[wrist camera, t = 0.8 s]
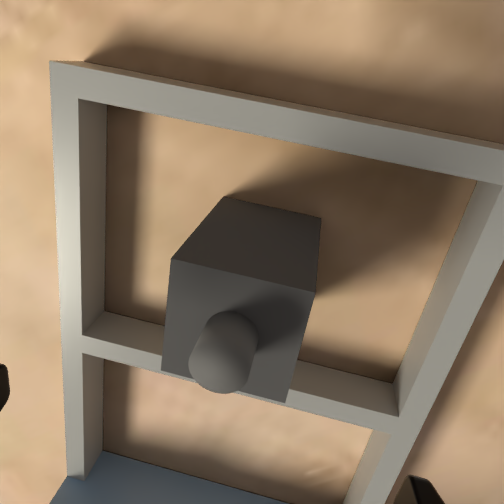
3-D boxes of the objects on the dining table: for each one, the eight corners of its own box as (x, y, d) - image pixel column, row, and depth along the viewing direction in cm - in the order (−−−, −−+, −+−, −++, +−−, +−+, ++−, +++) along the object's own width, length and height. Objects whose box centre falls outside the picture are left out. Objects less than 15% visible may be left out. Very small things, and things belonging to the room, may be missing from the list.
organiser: (348, 535, 24) (352, 660, 19) (87, 460, 25) (26, 557, 20) (524, 148, 14) (629, 192, 9) (82, 61, 15) (-37, 58, 10)
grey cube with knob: (299, 302, 18) (279, 443, 11) (211, 281, 18) (140, 405, 12) (321, 218, 16) (313, 324, 10) (223, 196, 17) (148, 284, 10)
